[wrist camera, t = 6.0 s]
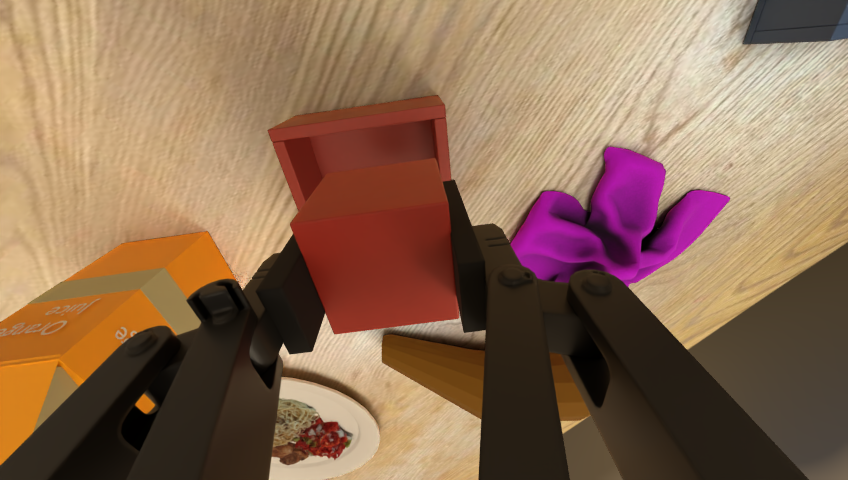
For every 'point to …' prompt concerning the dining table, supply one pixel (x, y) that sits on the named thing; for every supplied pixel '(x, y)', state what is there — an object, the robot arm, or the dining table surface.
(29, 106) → the dining table surface
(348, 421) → the plated food
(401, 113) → the red bin
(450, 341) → the dining table surface
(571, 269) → the cloth
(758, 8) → the blue bin
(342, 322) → the red block
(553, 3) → the dining table surface
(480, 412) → the horn
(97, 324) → the orange juice
